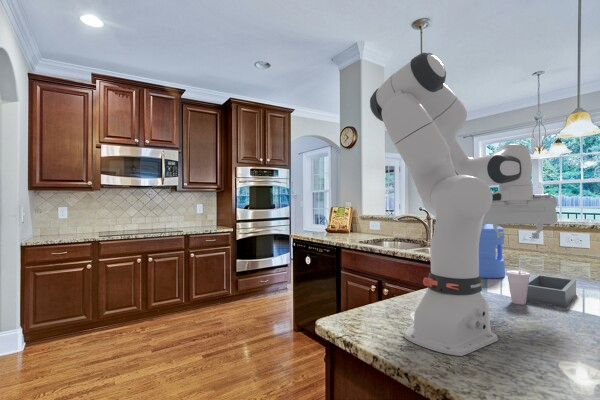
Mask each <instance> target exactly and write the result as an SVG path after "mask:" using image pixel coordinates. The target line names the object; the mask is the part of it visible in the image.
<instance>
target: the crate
mask: <svg viewBox="0 0 600 400" xmlns="http://www.w3.org/2000/svg"><path fill="white" fill-rule="evenodd" d="M576 296H577V280H576V279H572V278H564V277H556V276H551V275H542V274H536V275H534V276H533V277H530V278H529V283H528V291H527V299H526V302H531V303H537V304H543V305H547V306H554V307H558V308H565V309H566V308H567V307H568V306H569V304H570V303H571V302H572V301H573V299H574V298H575V297H576Z"/></svg>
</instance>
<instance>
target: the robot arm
mask: <svg viewBox="0 0 600 400" xmlns="http://www.w3.org/2000/svg"><path fill="white" fill-rule="evenodd" d="M446 77H447V72H446V68H445V66H444V64H443V63H442V61H441V60H440V59H439V58H438V57H437V56H436V55H435V54H434V53H431V52H421V53H419V54H418V55H415V56H414V57H412V59H411V60H410V61H409V62H408V63H406V64H405V65H403V66H402V67H401V68H400V69H398V70H397V71H395V73H392V74H391V75H390V76H389V77H388V78H387V79H386V80H385V81H384V82H383V83H382V84H381V85H380V87H379V88H376V89H375V91H373V93H372V95H371V96H370V98H369V108H370V110H371V112H372V114H373V116H374V117H376V119H377V120H379V121H381V122H383V125H384V127H385V129H386V131H387V133H388V136H389V138H390V140H391V141H392V143H393V144H394V147H395V148H396V150H397V152H398V154H399V155H400V157H401V158H402V160H403V162H404V164H405V165H406V167H407V168H408V170H409V173H410V175H411V178H412V180H413V183H414V185H415V187H416V189H417V192H418V195H419V196H420V198H421V202H422V204H423V207H424V208H425V210H427V212H428V213H429V214H430V215H432V216H434V217H435V222H434V229H433V234H432V238H431V240H430V247H429V248H430V271H429V273H428V277H427V276H426V277H424V278H423V280H422V282H423V283H422V284H423V286H425V287H427V289H426V292H425V293H424V295H423V296H422V298H421V300H420V302H419V304H418V305H417V307H416V309H415V310H414V316H413V322H412V323H411V325H409V327H408V328H406V330H405V331H404V332H403V338H404V339H406V340H408V341H409V342H410V343H413V344H416V345H418V346H420V347H423V348H425V349H428V350H432V351H435V352H438V353H443V354H446V355H451V356H458V357H463V356H466V355H468V354H471V353H473V352H474V351H477V350H480V349H482V348H483V347H487V346H488V345H491V344H493V343H495V342H497V341H499V339H498V335H497V334H496V333H495V332H493V331H491V330H492V329H491V320H490V318H491V317H490V308H489V302H488V301H487V300H486V299H485V298H484V296H483V295H482V293H481V291H482V285H483V282H482V278H481V276H480V275H479V239H480V234H481V230H482V225H483V224H493V228H494V229H495V231H496V232H497V238H503V232H499V230H498V229H497V228H498V227H499V226H500V225H535V227H536V230H535V231H534V232H531V235H532V236H531V239H534V240H535V239H536V240H537V239H540V233H541V231H542V230H543V229H544V225H555V224H556V223H557V222H558V214H557V213H558V212H557V209H556V207H557V206H558V199H557V198H556V197H555V196H554V195H551V194H550V193H545V194H534V192H533V191H534V188H533V186H534V185H533V181H532V179H531V177H532V176H531V175H532V173H533V172H532V170H533V168H532V167H533V166H532V157H531V152H530V149H529V148H528V147H527V145H525V144H521V143H509V144H504V145H501V146H500V148H499V149H498V150H496V151H495V152H492V153H491V154H489V155H484V156H481V157H480V156H479V157H470V156H469V155H467V154H466V153H465V151H464V150H463V148H462V146H461V145H460V144H459V142H458V141H457V138H456V135H457V134H458V133H459V132H460V130H462V128H464V125H465V123H466V120H467V113H468V112H467V109H466V107H465V105H464V104H463V102H462V101H461V100H460V98H459V97H457V95H456V93H454V91H453V90H451V89H450V88H449V87H448V85H446V84H445V82H446ZM490 186H498V189H499V190H498V191H492V189H491V188H490Z"/></svg>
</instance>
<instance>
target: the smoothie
mask: <svg viewBox="0 0 600 400" xmlns="http://www.w3.org/2000/svg"><path fill="white" fill-rule="evenodd" d="M521 264H522V260H521V258H518V270H517V269H515V270H512V269H511V270H505V276H506V277H507V280H508V287H509V293H510V300H511V302H513V304H515V305H526V303H527V301H526V299H527V291H528V283H529V280H530V278H531V273H530V272H528V271H523V270H522V265H521Z"/></svg>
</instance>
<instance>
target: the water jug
mask: <svg viewBox="0 0 600 400" xmlns="http://www.w3.org/2000/svg"><path fill="white" fill-rule="evenodd" d="M497 229H498V230H499V232H503V238H497V232H496V231H495V229H494V228H493V224H483V225H482V230H481V234H480V239H479V275H480V276H481V279H490V278H495V279H502V278H504V277H505V276H506V270H505V269H506V268H505V267H506V266H505V262H506V261H505V259H504V258H503V245H504V244H505V231H504V230H505V228H503V227H502V226H500V225H499V227H498V228H497ZM496 248H497V250H496ZM496 252H497V253H496Z"/></svg>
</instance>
